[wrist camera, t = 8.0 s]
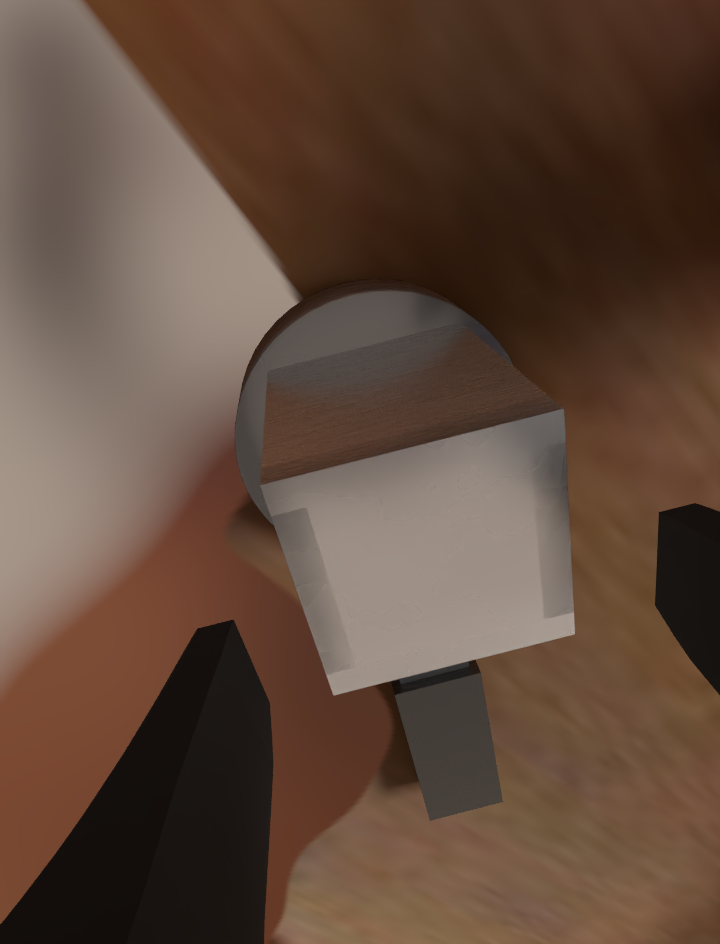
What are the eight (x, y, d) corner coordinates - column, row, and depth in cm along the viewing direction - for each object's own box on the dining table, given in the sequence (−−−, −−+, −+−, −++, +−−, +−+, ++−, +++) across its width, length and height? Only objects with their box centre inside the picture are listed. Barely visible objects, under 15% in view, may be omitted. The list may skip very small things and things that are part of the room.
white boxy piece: (460, 322, 14) (564, 409, 9) (482, 489, 17) (574, 634, 12) (267, 370, 14) (260, 485, 9) (317, 531, 17) (333, 695, 12)
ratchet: (200, 319, 16) (168, 377, 11) (485, 246, 16) (565, 275, 11) (369, 794, 26) (387, 921, 22) (540, 750, 26) (592, 867, 22)
